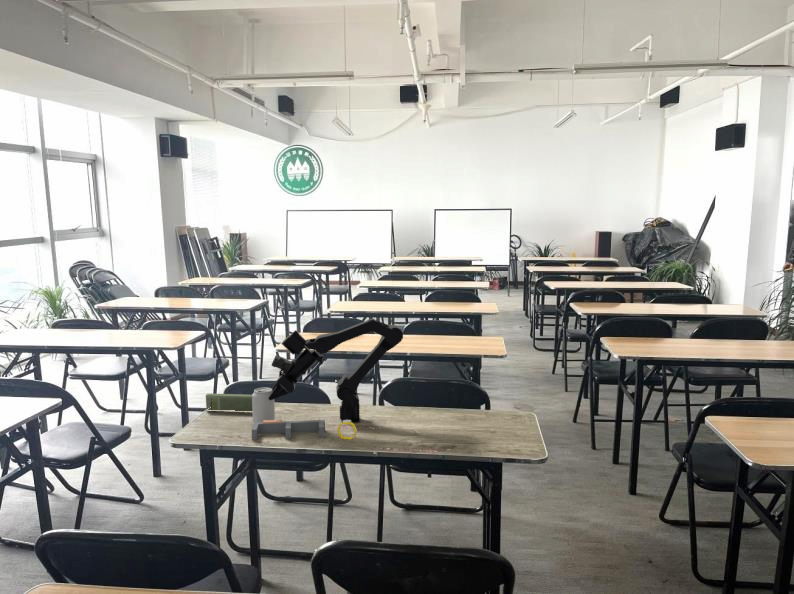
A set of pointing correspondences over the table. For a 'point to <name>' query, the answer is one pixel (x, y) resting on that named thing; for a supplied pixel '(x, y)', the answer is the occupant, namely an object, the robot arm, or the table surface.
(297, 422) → the comb rack
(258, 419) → the can
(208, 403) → the handheld radio
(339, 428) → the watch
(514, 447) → the table surface
